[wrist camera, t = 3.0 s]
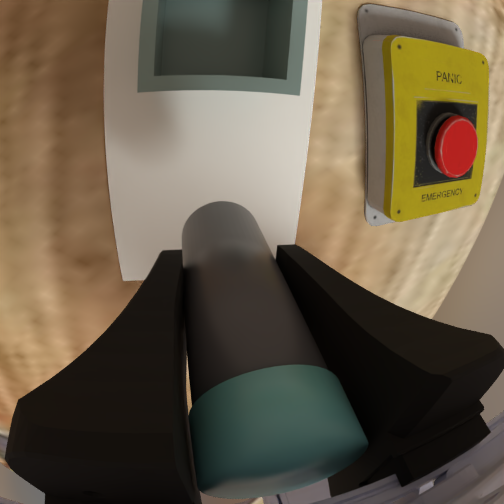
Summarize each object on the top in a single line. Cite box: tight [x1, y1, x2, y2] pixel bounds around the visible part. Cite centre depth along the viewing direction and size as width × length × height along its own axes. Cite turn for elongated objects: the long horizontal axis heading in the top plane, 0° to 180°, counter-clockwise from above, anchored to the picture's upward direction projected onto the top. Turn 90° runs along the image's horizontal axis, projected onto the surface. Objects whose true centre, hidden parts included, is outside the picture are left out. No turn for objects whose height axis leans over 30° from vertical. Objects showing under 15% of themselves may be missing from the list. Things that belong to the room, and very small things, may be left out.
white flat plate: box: [104, 0, 322, 281], centre depth 15 cm, size 18×11×1 cm, turn 176°
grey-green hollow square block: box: [137, 0, 308, 96], centre depth 11 cm, size 6×6×4 cm
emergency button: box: [357, 4, 489, 226], centre depth 16 cm, size 9×4×15 cm
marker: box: [182, 201, 369, 499], centre depth 8 cm, size 3×3×9 cm
